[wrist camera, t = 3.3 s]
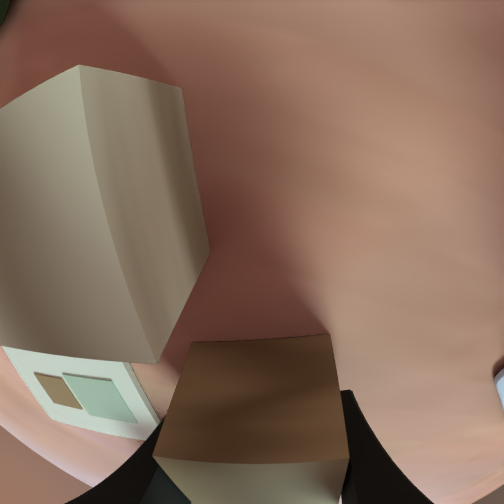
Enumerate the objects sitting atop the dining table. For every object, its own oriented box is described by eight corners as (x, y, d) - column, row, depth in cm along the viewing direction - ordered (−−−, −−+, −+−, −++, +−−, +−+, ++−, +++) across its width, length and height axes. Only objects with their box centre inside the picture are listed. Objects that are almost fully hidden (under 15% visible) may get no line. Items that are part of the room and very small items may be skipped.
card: (119, 343, 12) (115, 351, 11) (170, 438, 14) (168, 445, 14) (0, 333, 13) (-5, 338, 12) (54, 415, 15) (51, 420, 15)
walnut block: (330, 334, 10) (349, 457, 6) (328, 415, 12) (335, 513, 8) (192, 342, 11) (152, 455, 7) (220, 420, 13) (201, 512, 8)
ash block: (182, 88, 8) (78, 64, 3) (211, 251, 10) (156, 364, 5) (51, 131, 8) (-66, 160, 4) (84, 263, 10) (-1, 345, 6)
